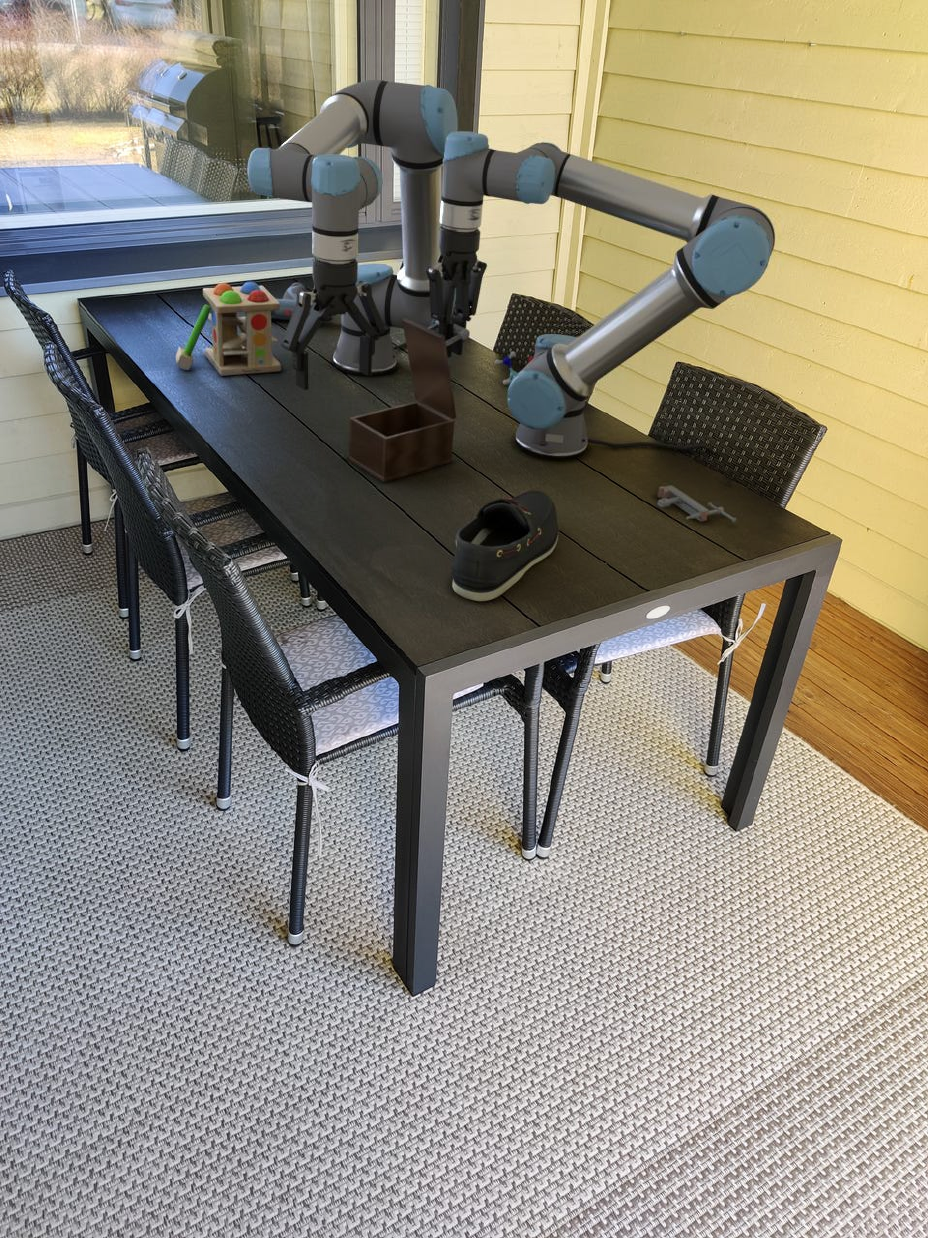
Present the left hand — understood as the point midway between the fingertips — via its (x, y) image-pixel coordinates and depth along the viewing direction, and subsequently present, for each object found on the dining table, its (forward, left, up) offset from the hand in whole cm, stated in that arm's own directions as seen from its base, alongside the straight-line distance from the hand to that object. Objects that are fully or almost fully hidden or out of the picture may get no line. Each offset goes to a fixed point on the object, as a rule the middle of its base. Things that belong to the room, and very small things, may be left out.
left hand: (334, 380), depth 175 cm
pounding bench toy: (-14, -62, -20) cm, 66 cm away
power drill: (-54, -85, -20) cm, 102 cm away
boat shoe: (-7, +39, -20) cm, 45 cm away
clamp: (-48, +48, -20) cm, 71 cm away
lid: (-22, +1, -2) cm, 22 cm away
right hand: (-27, +1, 0) cm, 27 cm away
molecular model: (-65, -16, -20) cm, 70 cm away
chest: (-16, +1, -20) cm, 25 cm away
